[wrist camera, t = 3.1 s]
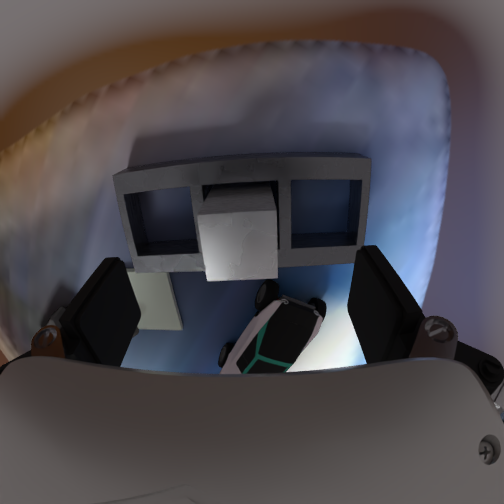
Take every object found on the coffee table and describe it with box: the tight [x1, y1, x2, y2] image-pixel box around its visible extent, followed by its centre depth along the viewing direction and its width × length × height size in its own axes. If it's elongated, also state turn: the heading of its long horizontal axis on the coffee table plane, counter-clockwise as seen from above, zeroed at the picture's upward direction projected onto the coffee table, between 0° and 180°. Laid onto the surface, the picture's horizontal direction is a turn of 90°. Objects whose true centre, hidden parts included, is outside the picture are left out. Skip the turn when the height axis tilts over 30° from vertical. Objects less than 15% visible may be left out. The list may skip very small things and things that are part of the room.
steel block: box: [197, 181, 278, 281], centre depth 18 cm, size 4×4×7 cm
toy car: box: [218, 279, 326, 374], centre depth 24 cm, size 6×12×5 cm, turn 154°
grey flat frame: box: [113, 152, 371, 273], centre depth 20 cm, size 18×8×2 cm, turn 93°
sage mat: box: [126, 268, 183, 330], centre depth 25 cm, size 7×7×1 cm
